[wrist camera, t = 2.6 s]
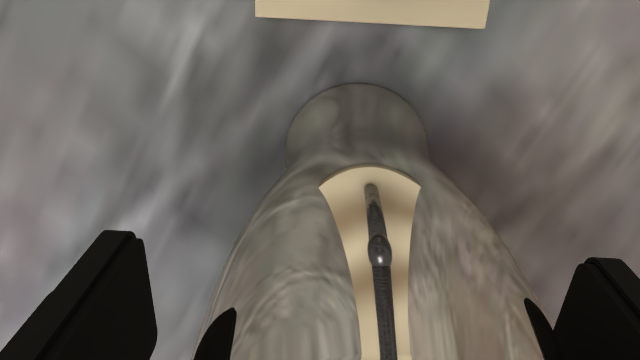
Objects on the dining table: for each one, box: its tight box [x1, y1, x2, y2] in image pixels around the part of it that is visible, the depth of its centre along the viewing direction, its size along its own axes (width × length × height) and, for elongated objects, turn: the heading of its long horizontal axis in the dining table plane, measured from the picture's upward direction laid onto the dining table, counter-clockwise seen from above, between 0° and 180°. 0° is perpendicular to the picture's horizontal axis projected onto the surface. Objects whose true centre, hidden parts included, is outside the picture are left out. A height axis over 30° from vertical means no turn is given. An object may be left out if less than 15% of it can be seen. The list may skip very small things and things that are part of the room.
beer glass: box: [191, 84, 566, 360], centre depth 13 cm, size 7×7×15 cm
